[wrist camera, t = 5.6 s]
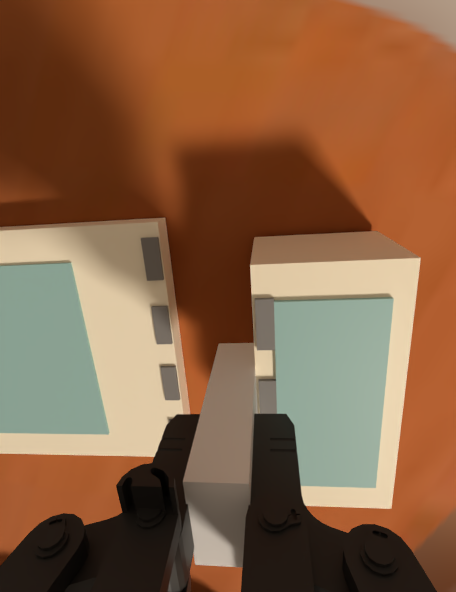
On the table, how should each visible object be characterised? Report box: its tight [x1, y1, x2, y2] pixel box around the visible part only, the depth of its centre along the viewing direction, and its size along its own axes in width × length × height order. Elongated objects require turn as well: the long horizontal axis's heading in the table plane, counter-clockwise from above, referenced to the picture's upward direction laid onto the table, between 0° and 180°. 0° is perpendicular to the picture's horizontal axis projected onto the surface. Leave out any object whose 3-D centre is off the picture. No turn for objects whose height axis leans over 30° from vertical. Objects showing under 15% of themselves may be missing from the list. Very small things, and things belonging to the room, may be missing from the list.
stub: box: [250, 231, 421, 509], centre depth 15 cm, size 5×10×4 cm, turn 4°
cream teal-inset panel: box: [0, 218, 190, 457], centre depth 17 cm, size 16×12×3 cm
